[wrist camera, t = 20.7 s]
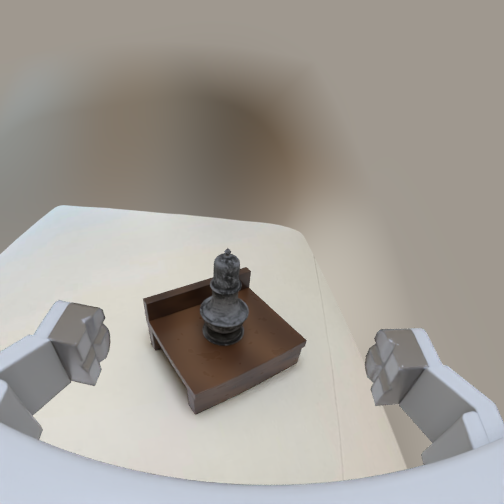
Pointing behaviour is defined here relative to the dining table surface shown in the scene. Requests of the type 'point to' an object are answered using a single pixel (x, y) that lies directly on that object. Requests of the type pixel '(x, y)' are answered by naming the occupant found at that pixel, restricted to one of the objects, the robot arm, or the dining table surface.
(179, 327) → the shelf
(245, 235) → the dining table surface
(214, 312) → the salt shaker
